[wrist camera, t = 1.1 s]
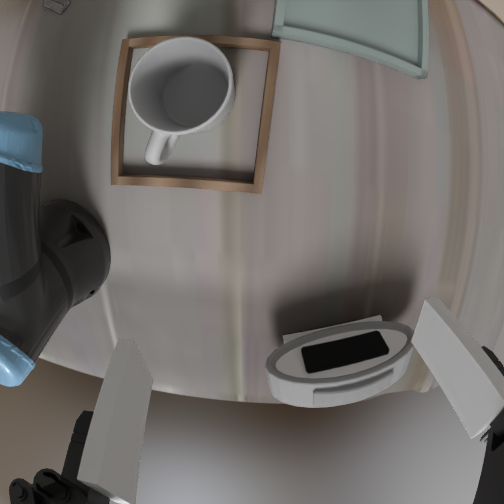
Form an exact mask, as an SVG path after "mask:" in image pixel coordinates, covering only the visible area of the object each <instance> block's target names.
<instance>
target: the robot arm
mask: <svg viewBox="0 0 504 504" xmlns="http://www.w3.org/2000/svg"><path fill="white" fill-rule="evenodd" d="M42 141H43V128H42V125H41V123H40V121H39V120H38V119H37V118H36V117H34V116H32V115H29V114H23V113H15V112H6V111H0V384H2V385H5V386H11V387H12V386H17V385H20V384H21V383H22V382H23V380H24V379H25V378H26V377H27V375H28V374H29V373H30V371H31V370H32V369H33V368H34V367H35V362H36V361H37V359H38V357H39V355H40V354H41V352H42V351H43V349H44V347H45V346H46V344H47V342H48V341H49V339H50V338H51V336H52V335H53V333H54V331H55V330H56V328H57V327H58V325H59V324H60V322H61V321H62V319H63V318H64V316H65V315H66V313H67V312H68V311H69V309H70V308H72V307H74V306H75V305H77V304H79V303H81V302H82V301H84V300H86V299H88V298H90V297H91V296H93V295H94V294H95V293H96V292H97V291H98V290H99V289H100V287H101V286H102V284H103V283H104V281H105V280H106V278H107V276H108V273H109V269H110V250H109V246H108V242H107V239H106V237H105V235H104V232H103V230H102V229H101V227H100V225H99V224H98V222H97V221H96V220H95V219H94V217H93V216H92V215H91V214H90V213H89V212H88V211H86V210H85V209H84V208H83V207H81V206H79V205H78V204H76V203H73V202H71V201H67V200H54V201H50V202H48V203H46V204H44V205H43V206H41V207H40V181H41V172H43V165H42V164H41V163H42ZM411 342H412V344H413V345H414V347H415V348H416V349H417V351H418V352H419V354H420V355H421V357H422V358H423V360H424V362H425V363H426V365H427V366H428V368H429V369H430V371H431V372H432V374H433V375H434V377H435V379H436V380H437V382H438V383H439V385H440V387H441V388H442V390H443V391H444V393H445V395H446V396H447V398H448V400H449V401H450V403H451V405H452V406H453V408H454V410H455V412H456V413H457V415H458V417H459V419H460V420H461V422H462V424H463V426H464V428H465V429H466V431H467V433H468V435H469V437H470V439H471V438H473V437H475V436H476V435H478V434H480V433H481V432H482V431H483V430H484V429H485V428H486V427H487V426H488V425H489V424H490V426H491V428H490V429H489V430H488V431H487V432H486V433H485V434H484V435H483V436H482V437H481V440H480V442H482V441H483V440H484V439H485V438H486V437H487V436H488V438H487V439H486V440H485V441H484V442H485V443H487V446H486V452H485V457H484V462H483V467H482V472H481V476H480V480H479V484H478V488H477V492H476V495H475V499H474V502H473V504H504V367H503V365H502V363H501V362H500V361H498V358H497V357H496V356H495V355H494V353H493V352H492V351H491V350H489V349H488V348H486V347H485V346H483V347H480V345H479V344H478V343H477V342H476V341H475V339H474V338H473V337H472V336H471V335H470V333H469V332H468V331H467V330H466V329H465V328H464V326H463V325H462V324H461V323H460V322H459V321H458V320H457V318H456V317H455V316H454V315H453V314H452V313H451V312H450V311H449V310H448V308H447V307H446V306H445V305H444V304H443V303H442V302H441V301H440V300H439V299H438V298H437V297H432V298H428V299H425V301H424V304H423V307H422V311H421V314H420V317H419V320H418V323H417V326H416V329H415V332H414V335H413V337H412V340H411ZM152 384H153V378H152V376H151V374H150V372H149V370H148V368H147V366H146V364H145V361H144V359H143V357H142V355H141V353H140V351H139V349H138V346H137V344H136V342H135V340H134V339H118V342H117V345H116V347H115V350H114V353H113V356H112V358H111V361H110V364H109V367H108V370H107V373H106V375H105V378H104V381H103V384H102V388H101V391H100V394H99V397H98V400H97V404H96V407H95V410H94V412H92V411H83V413H82V414H81V415H80V416H79V418H78V419H77V421H76V424H75V427H74V433H73V434H72V437H71V442H70V444H69V448H68V451H67V455H66V459H65V463H64V467H63V471H62V474H61V475H60V474H58V473H57V472H55V471H54V470H52V469H48V468H46V469H42V470H40V471H39V472H37V474H36V475H35V477H34V482H33V484H30V483H28V482H27V481H25V480H24V479H20V478H18V479H15V480H14V481H12V483H11V485H10V487H9V494H10V501H11V504H109V501H110V499H111V500H113V501H115V502H116V503H121V504H135V502H136V491H137V482H138V473H139V464H140V457H141V450H142V443H143V435H144V429H145V423H146V417H147V411H148V405H149V399H150V394H151V389H152Z"/></svg>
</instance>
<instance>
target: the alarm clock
mask: <svg viewBox="0 0 504 504" xmlns="http://www.w3.org/2000/svg"><path fill="white" fill-rule="evenodd" d="M413 335H414V331H413V330H412V329H411V328H410V327H409V326H407V325H404V324H401V323H397V322H389V321H382V317H381V315H377V316H373V317H369V318H365V319H361V320H357V321H353V322H348V323H344V324H339V325H335V326H330V327H325V328H320V329H315V330H310V331H305V332H299V333H294V334H288V335H283V341H284V345H282V346H281V347H279V348H278V349H276V350H274V352H273V353H272V354H271V355H270V356H269V357H268V358H267V362H266V366H265V368H266V373H267V378H268V382H269V387H270V391H271V393H272V395H273V397H275V398H276V399H278V400H280V401H281V402H283V403H287V404H290V405H294V406H300V407H311V408H316V407H332V406H337V405H344V404H349V403H353V402H357V401H360V400H363V399H366V398H369V397H371V396H373V395H375V394H377V393H379V392H381V391H383V390H385V389H386V388H388V387H389V386H391V385H392V384H393V383H395V382H396V381H397V380H399V379H400V377H401V376H402V375H403V374H404V373H405V371H406V369H407V366H408V363H409V360H410V357H411V354H412V351H413V348H414V345H413V344H412V342H411V340H412V337H413Z"/></svg>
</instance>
